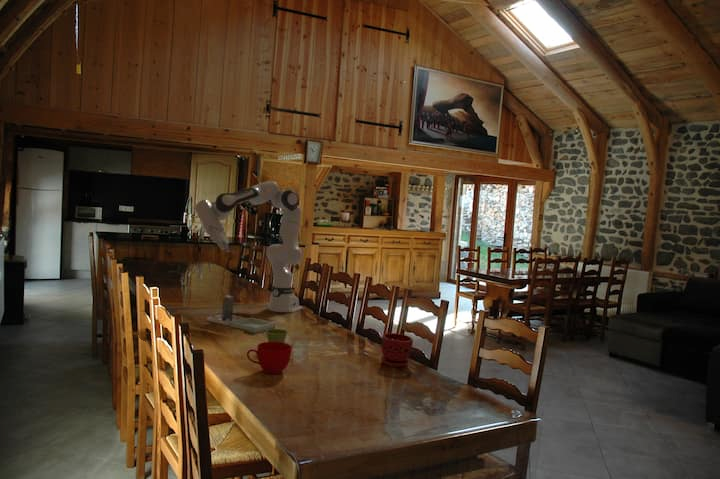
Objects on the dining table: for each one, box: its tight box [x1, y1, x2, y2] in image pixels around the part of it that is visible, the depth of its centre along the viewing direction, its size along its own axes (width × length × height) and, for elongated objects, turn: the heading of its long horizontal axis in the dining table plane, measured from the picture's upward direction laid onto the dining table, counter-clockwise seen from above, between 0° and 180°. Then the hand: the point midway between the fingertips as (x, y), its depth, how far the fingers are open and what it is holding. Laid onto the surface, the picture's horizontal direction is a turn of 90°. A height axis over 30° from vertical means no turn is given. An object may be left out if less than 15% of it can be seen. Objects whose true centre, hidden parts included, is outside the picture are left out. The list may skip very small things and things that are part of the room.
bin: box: [229, 317, 276, 335], centre depth 275 cm, size 16×16×3 cm
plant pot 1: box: [265, 328, 289, 343], centre depth 238 cm, size 9×9×9 cm
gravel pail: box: [221, 294, 235, 321], centre depth 283 cm, size 6×6×13 cm
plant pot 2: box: [380, 332, 414, 368], centre depth 232 cm, size 13×13×12 cm
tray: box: [206, 314, 247, 326], centre depth 283 cm, size 14×14×3 cm
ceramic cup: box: [246, 341, 293, 375], centre depth 209 cm, size 13×17×10 cm
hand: (225, 250), depth 288 cm, fingers open, 8 cm apart
